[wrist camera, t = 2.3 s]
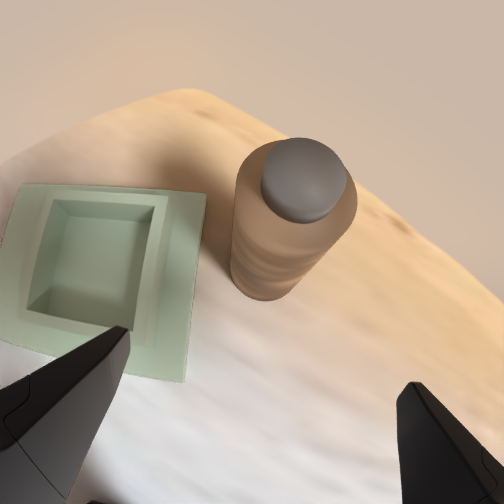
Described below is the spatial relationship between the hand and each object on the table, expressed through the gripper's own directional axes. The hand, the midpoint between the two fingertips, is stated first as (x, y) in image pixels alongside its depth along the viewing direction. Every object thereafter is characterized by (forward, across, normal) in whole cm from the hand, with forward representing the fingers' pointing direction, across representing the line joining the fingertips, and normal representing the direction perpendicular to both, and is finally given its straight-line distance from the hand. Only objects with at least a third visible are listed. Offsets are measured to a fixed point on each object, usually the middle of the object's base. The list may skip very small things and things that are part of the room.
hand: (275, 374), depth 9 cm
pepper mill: (+15, 0, +4) cm, 15 cm away
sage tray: (+12, +14, +7) cm, 19 cm away
